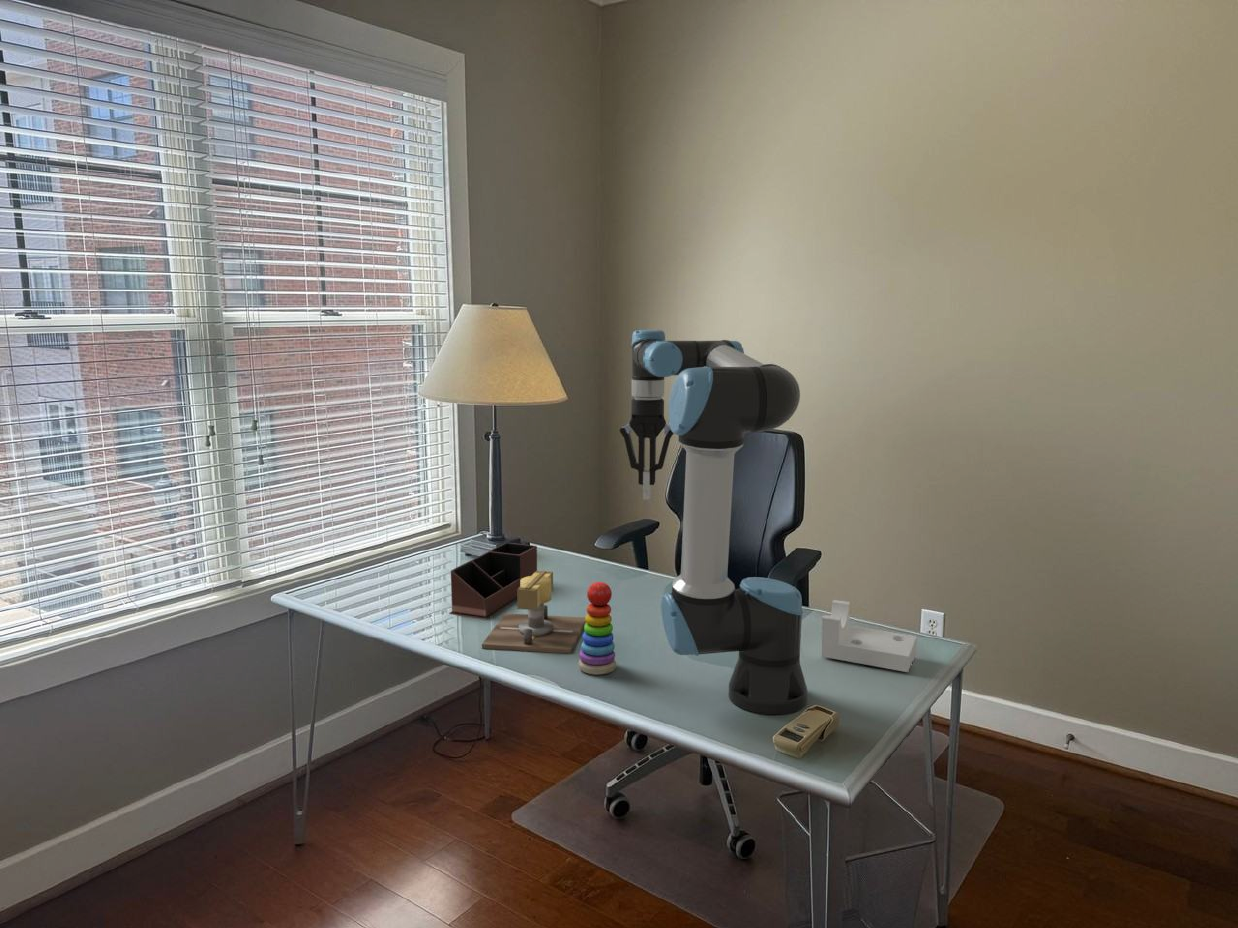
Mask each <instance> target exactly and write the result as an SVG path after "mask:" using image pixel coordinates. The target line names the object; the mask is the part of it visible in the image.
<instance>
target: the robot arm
mask: <svg viewBox="0 0 1238 928" xmlns="http://www.w3.org/2000/svg"><path fill="white" fill-rule="evenodd" d="M631 336H632V338H631V339H632V340H631V344H630V345H631V397H632V399H631V403H630V404H631V409H630V410H631V411H630V412H631V414H630V415H631V416H630V419H629V421H628V423H627V424H626V425H625V426H624V425H623V426H621V428H620V429H619V433H621V437H623V438H624V443H625V447H626V448H625V449H626V452H627V456H628V461H629V464H630V465H629V466H630V468H631V469H634V470H637V471H638V482H637V483H638V485H640V486H641V485H642V500H645V501H646V500H650V499H651V492H652V491H651V488H652V487H651V486H654V485H655V483H656V472H657V471H658V470H662V469H663V467H664V464H665V460H666V456H667V453H668V448H669V444H670V441H671V438H672V436H673V435H674V434H675V435H677V436H678V438H677V439H678V440H677V441H678V443H679V445H680V446H681V447H682V448H683V449H684V450H685V452H686V453H685V470H684V471H685V472H684V473H685V474H684V477H685V478H684V494H683V495H684V498H683V515H682V516H683V518H682V519H683V521H682V541H681V542H682V543H681V563H680V574H679V575H677V577H675V578H674V579H673V580H672V583H671V592H666V593H664V594H663V595H662V596H661V600H660V607H661V609H660V610H661V611H660V612H661V619H662V624H663V629H664V633H665V637H666V639H667V642H668V643H669V646H670V649H671V650H672V651H673V652H674V653H676V654H677V655H680V656H692V655H693V656H700V655H710V654H723V653H733V652H734V653H735V652H738V658H737V661H736V664H735V666H734V669H733V672H732V675H731V676H730V679H729V682H728V694H727V695H728V698H729V700H730V701H731V703H733V704H734V705H735V706H737V707H739V708H741V709H743V710H744V711H745V710H746V711H749V712H752V713H755V714H762V715H786V714H792V713H794V712H795V713H796V712H797V711H800V710H801V709H803V708H805V706H806V705H807V703H808V686H807V684H806V680H805V676H804V672H803V670H802V667H801V662H800V657H801V639H802V638H801V637H802V620H803V614H804V612H803V602H802V600H803V599H802V597H803V596H802V594H801V592H800V591H799V590H798V588H796V587H795V586H793V585H792V584H789V583H787V582H784V581H782V580H778V579H775V578H774V579H773V578H769V577H768V578H767V577H759V576H758V577H756V576H753V577H751V576H750V577H746V578H743V579H742V580H741V581H740V584H739V588H737V589H736V587H735V583H734V582H733V581H732V580H731V579H730V578H729V577H728V570H729V569H728V567H729V566H728V565H729V553H730V552H729V549H730V533H731V532H730V531H731V519H732V517H731V516H732V499H733V485H734V484H733V482H734V470H735V469H734V467H735V466H734V465H735V454H736V453H737V452H738V451H739V450H740V449H741V448H743V447H744V442H745V441H744V440H745V434H746V433H763V432H768V431H772V430H774V429H777V428H780V427H781V426H782V425H784V424H786V422H788V421H789V420H790V419H791V418H792V417H793V415H794V414H795V413H796V412H797V409H798V408H799V407H798V406H799V404H800V398H801V393H800V392H801V390H800V386H799V385H800V384H799V383H798V381H797V379H796V377H795V376H794V375H793V374H792V373H791V372H790V371H788V370H787V369H785V368H784V367H781V366H779V365H777V364H774V363H765V364H764V363H762V362H761V361H758V359H755V358H753V357H751V356H749V355H747V354H746V353H745V351H744V347H742V343H741V342H740V341H737V340H728V339H721V340H666V333H665V332H664V331H663V330H659V329H638V330H634V331H633V332H632V335H631ZM672 376H676V378H675V380H674V381H673V385H672V388H671V392H670V394H669V395H670V396H669V401H668V412H667V413H668V416H669V417H668V424H669V425H668V424H667V420H666V419H665V400H664V399H663V397H664V396H665V378H669V377H672ZM631 429H632V430H631ZM663 429H664V432H663V434H664V439H663V443H662V446H661V450H660V454H659V457H658V463H656V461H657V460H656V459H657V457H656V455H657V442H656V441H657V437H658V436H659V435H660V433H662V431H663ZM632 431H633V432H634V434H635V435H636V436H637V437H638V438H637V439H638V456H637V457H638V461H637V458H636V454H635V450H634V445H633V442H632V441H633V440H632V436H631V432H632ZM646 439H649V469H645V468H646V466H645V463H646V460H645V459H646V458H645V457H646V456H645V455H646Z"/></svg>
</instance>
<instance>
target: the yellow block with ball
mask: <svg viewBox="0 0 1238 928" xmlns="http://www.w3.org/2000/svg"><path fill="white" fill-rule="evenodd" d="M553 591H554V571H547V570H537V571H536V572H535V573H534V574H533V575H532V576H528V577H524V578H522V579H521V580H520V587H519V588H518V589H517V602H516V603H517V610H526V611H528V610H536V609H537V607H538V606H539V605H540V604H543V603H544V604H547V603H549V602H551V600H552V592H553Z"/></svg>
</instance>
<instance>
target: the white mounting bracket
mask: <svg viewBox="0 0 1238 928" xmlns="http://www.w3.org/2000/svg"><path fill="white" fill-rule="evenodd" d="M850 607H851V602H849V601H844V600H839V599H833V600H832V602H831V610H830V611H831V612H830V615H826V614H823V616H822V617H821V618H822V620H821V621H822V623H821V624H822V625H821V626H822V627H821V657H822V658H827V659H832V660H833V659H834V660H837V661H843V662H845V661H846V662H849V663H854V664H860V665H867V666H872V667H878V668H882V669H888V670H893V671H899V672H905V673H909V670H910V668H911V664H912V662H913V660H914V657H915V658H916V656H917V654H916V653H917V636H916V635H910V634H904V633H898V632H892V631H886V630H880V629H875V628H867V627H862V626H855V625H850V610H851V608H850ZM915 655H916V656H915ZM914 661H915V660H914ZM913 663H914V662H913Z"/></svg>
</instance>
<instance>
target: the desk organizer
mask: <svg viewBox="0 0 1238 928" xmlns="http://www.w3.org/2000/svg"><path fill="white" fill-rule="evenodd" d="M537 546H538V545H534V544H526V543H525V544H524V543H515V542H504V543H502V544H500V545H498V546H496V547H494V548H492V549H490V550H488V551H486V552H484V553H482V554H480V555H479V556H477V557H474V558H473V559H471V560H469V561H466V562H465V563H463V564H461V565H459V566H456V567H455V568H453V569H451V570H450V589H451V590H450V591H451V592H450V594H451V611H450V612H448V614H449V615H455V616H461V617H468V618H474V619H480V620H488V619H489V618H490V617H493V616H494V615H495V614H497V613H499V612H501V611H502V610H503V609H504V608H506V607H507V606H509V605H510V604H512V603H513V602H516V600H517V589H518V588H519V587H520V580H521V579H522V578H524V577H528V576H532V575H533V574H534V573H535V572H536V571H538V547H537Z"/></svg>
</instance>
